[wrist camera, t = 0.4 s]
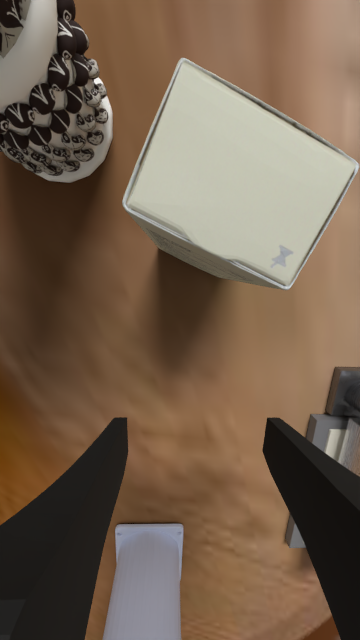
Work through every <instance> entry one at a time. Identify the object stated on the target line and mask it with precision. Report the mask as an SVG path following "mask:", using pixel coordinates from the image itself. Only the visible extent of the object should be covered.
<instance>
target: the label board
mask: <svg viewBox="0 0 360 640" xmlns="http://www.w3.org/2000/svg"><path fill="white" fill-rule="evenodd" d="M349 418H360V416H354V415H330V414H311V416H310V421H309V426H308V431H307V436H306V439H307V440H309V441H310V442H311V443H313V444H314V445H315V446H316V447H318V448H319V449H320V450H322V451H323V452H325V453H326V454H327V455H329V456H330V457H331V458H333V459H334V460H336V461H337V462H338V460H339V456H340V452H341V448H342V445H343V441H344V437H345V433H346V429H347V425H348V421H349ZM285 539H286V541H287V543H288V546H289V548H306V546H305V544H304V541H303V539H302V537H301V535H300V532H299V530H298V528H297V526H296V524H295V522H294V520H293V518H292V516H291V514H290V517H289V522H288V527H287V532H286V536H285Z"/></svg>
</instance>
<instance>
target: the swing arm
mask: <svg viewBox="0 0 360 640" xmlns="http://www.w3.org/2000/svg"><path fill="white" fill-rule="evenodd" d="M338 462H339V463H340V464H341V465H343V466H344V467H346V468H347V469H349V470H350V471H352V472H353V473H355V474H356V475H358V476H359V477H360V418H349V421H348V425H347V429H346V433H345V437H344V441H343V445H342V448H341V452H340V456H339V460H338Z"/></svg>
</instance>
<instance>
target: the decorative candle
mask: <svg viewBox="0 0 360 640" xmlns="http://www.w3.org/2000/svg"><path fill="white" fill-rule="evenodd" d="M74 19H75V4H74V1H73V0H0V151H1V152H4V153H5V155H6V156H7V157H8V158H9V159H10V160H12V161H14V162H16V163H21V164H22V165H23V166H24V167H25V168H26V169H27V170H29V171H31V172H33V173H35V174H37V175H39V176H41V177H42V178H44V179H46V180H48V181H56V182H66V183H71V182H74V181H77V180H79V179H82V178H85V177H87V176H90V175H91V174H92V173H93V172H94V171H95V170H96V169H97V168H98V166H99V165H100V164H101V163H102V162H103V161H104V160H105V158H106V155H107V152H108V149H109V147H110V144H111V141H112V139H113V112H112V109H111V106H110V103H109V100H108V97H107V90H106V88H105V86H104V85H103V83H102V81H101V80H100V79H99V77H98V76H99V73H100V72H99V68H98V64H97V62H96V61H95V60H94V59H87V58H86V57H85V56H84V52H85V51H86V50H87V49H88V47H89V39H88V37H87V35H86V34H85V33H84V31H83V29H82V28H81V26H80V25H79V24H78V23H77V22H75V21H74Z"/></svg>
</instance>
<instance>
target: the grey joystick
mask: <svg viewBox="0 0 360 640" xmlns="http://www.w3.org/2000/svg"><path fill="white" fill-rule="evenodd" d="M326 411H327V412H328V413H329V414H330V415H354V416H360V367H335V371H334V375H333V380H332V384H331V388H330V393H329V397H328V402H327V406H326Z"/></svg>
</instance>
